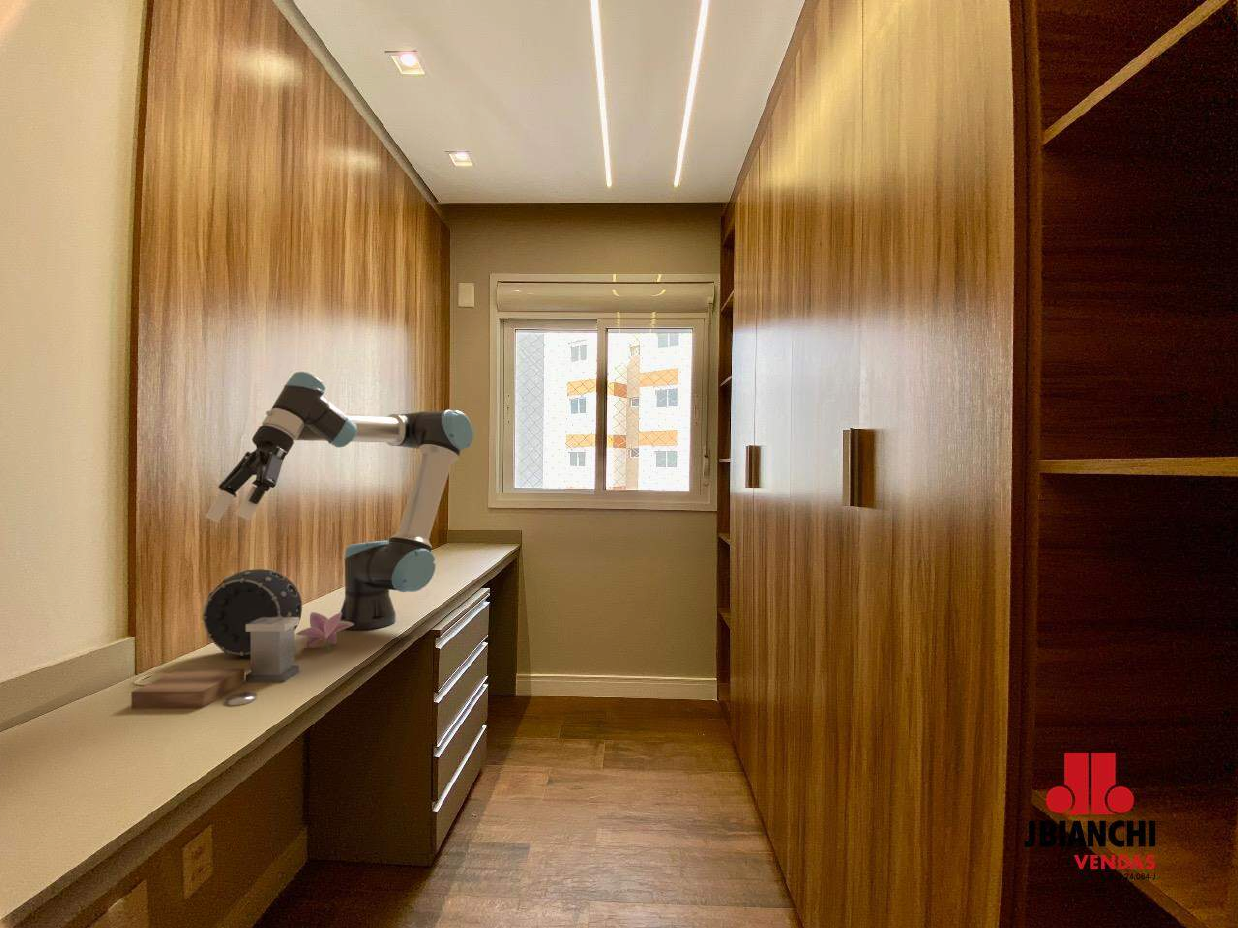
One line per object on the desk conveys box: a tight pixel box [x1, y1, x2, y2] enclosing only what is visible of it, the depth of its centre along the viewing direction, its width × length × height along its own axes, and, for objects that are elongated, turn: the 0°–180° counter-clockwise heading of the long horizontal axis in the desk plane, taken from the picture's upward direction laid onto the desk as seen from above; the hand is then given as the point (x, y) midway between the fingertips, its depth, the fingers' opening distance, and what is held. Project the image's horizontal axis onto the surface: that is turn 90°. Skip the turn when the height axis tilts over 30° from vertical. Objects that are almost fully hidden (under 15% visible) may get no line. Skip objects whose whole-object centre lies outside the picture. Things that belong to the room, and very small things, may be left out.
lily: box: [295, 611, 354, 653], centre depth 150 cm, size 12×12×10 cm
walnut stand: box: [130, 667, 245, 709], centre depth 120 cm, size 13×13×3 cm
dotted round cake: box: [201, 568, 303, 659], centre depth 146 cm, size 11×20×20 cm, turn 92°
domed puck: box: [225, 691, 258, 707], centre depth 117 cm, size 5×5×1 cm
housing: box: [245, 617, 300, 683], centre depth 130 cm, size 6×8×12 cm
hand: (226, 518), depth 126 cm, fingers open, 13 cm apart
